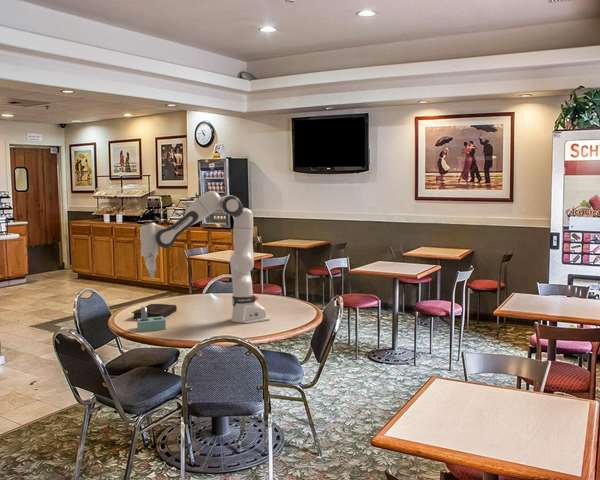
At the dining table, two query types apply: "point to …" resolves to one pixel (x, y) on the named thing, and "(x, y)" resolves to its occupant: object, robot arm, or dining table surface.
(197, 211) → the robot arm
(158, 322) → the hole block
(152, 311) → the diary
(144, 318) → the peg
